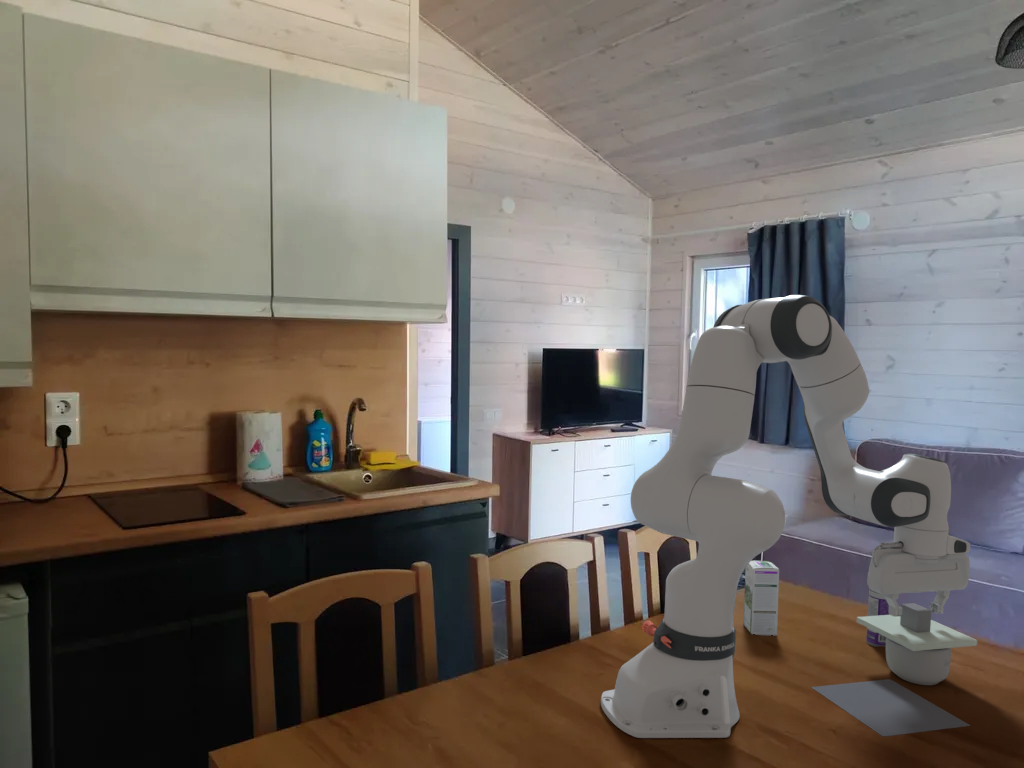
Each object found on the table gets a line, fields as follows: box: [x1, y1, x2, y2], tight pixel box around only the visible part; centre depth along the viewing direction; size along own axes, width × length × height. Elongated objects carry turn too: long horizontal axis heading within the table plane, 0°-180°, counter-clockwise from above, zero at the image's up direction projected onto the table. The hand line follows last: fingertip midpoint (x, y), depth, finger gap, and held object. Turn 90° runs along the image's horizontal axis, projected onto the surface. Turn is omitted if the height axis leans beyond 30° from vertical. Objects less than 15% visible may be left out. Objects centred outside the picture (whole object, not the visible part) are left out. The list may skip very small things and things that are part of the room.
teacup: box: [885, 637, 952, 686], centre depth 137 cm, size 14×11×8 cm
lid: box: [856, 602, 978, 651], centre depth 137 cm, size 14×14×5 cm
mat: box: [811, 678, 971, 737], centre depth 124 cm, size 17×17×1 cm
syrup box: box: [742, 560, 780, 637], centre depth 157 cm, size 6×6×14 cm
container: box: [865, 587, 890, 647], centre depth 152 cm, size 5×5×15 cm
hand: (915, 614), depth 137 cm, fingers open, 8 cm apart
